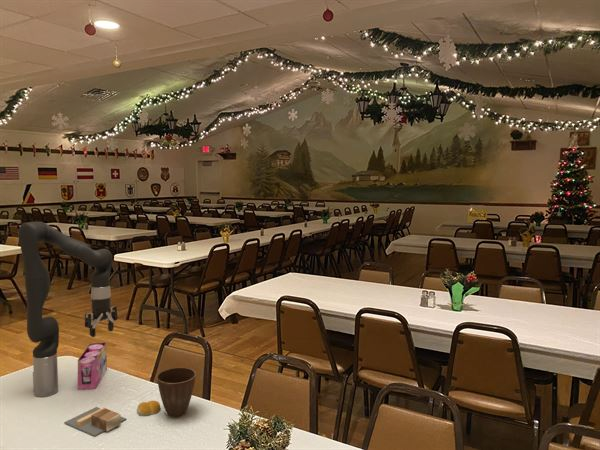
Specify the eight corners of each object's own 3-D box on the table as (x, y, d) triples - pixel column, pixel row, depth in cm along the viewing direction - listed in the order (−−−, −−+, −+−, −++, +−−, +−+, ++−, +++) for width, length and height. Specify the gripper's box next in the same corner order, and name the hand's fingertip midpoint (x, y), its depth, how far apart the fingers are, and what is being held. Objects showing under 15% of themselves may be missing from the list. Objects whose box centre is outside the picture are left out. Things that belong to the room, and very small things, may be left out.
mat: (64, 423, 174) (64, 417, 174) (96, 408, 187) (96, 402, 186) (94, 436, 166) (94, 430, 165) (126, 419, 178) (126, 414, 178)
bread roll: (162, 412, 184) (162, 403, 184) (140, 418, 179) (140, 408, 179) (156, 404, 191) (156, 395, 191) (134, 409, 186) (134, 400, 186)
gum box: (95, 390, 203) (94, 360, 202) (76, 391, 201) (75, 361, 200) (107, 368, 226) (106, 342, 225) (90, 369, 225) (89, 343, 224)
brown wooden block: (91, 414, 172) (106, 421, 168) (105, 408, 178) (120, 414, 173) (91, 424, 173) (107, 431, 168) (105, 418, 178) (120, 424, 173)
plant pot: (203, 409, 187) (203, 372, 185) (177, 426, 174) (177, 386, 172) (176, 401, 194) (175, 364, 192) (149, 416, 181) (148, 377, 179)
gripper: (109, 291, 200) (110, 327, 202) (80, 298, 188) (81, 336, 190) (121, 294, 197) (121, 330, 198) (91, 301, 184) (92, 340, 186)
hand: (101, 333), depth 194 cm, fingers open, 8 cm apart
